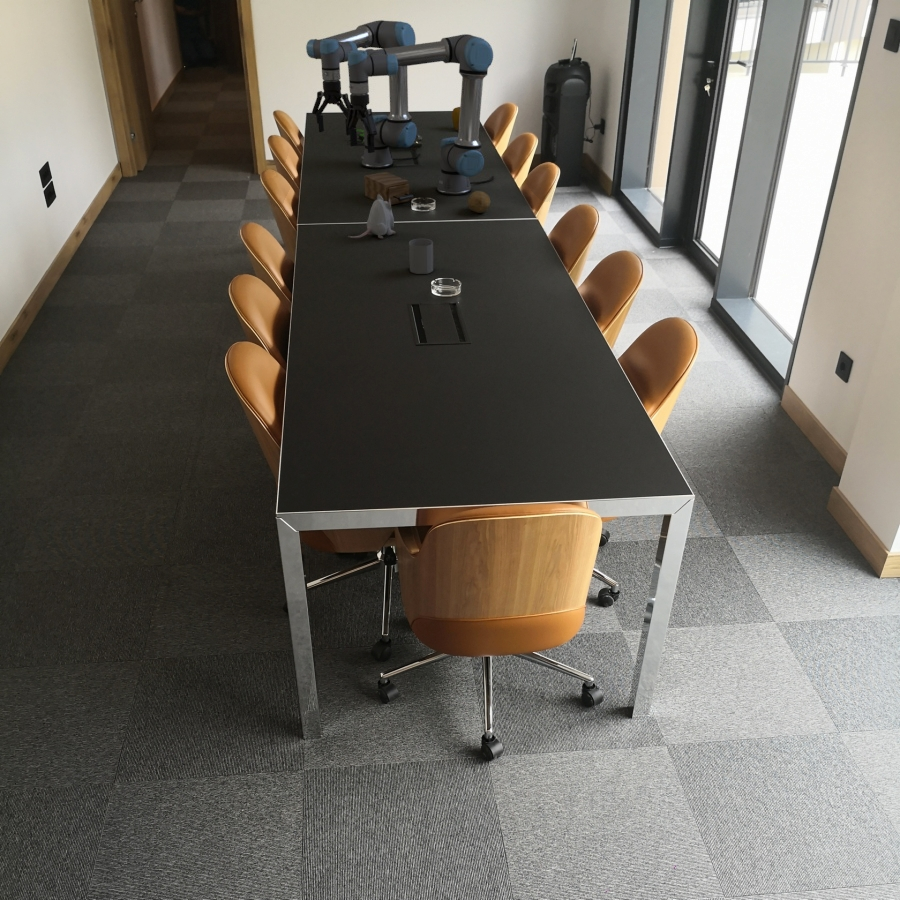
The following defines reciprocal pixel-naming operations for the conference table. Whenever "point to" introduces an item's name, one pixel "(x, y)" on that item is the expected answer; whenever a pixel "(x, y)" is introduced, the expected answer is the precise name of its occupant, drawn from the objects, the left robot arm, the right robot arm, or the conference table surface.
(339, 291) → the conference table surface
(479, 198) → the potato
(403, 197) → the drawer
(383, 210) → the toy
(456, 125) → the apple
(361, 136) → the green leafy plant
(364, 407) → the conference table surface
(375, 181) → the cabinet
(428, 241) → the cup
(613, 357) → the conference table surface
